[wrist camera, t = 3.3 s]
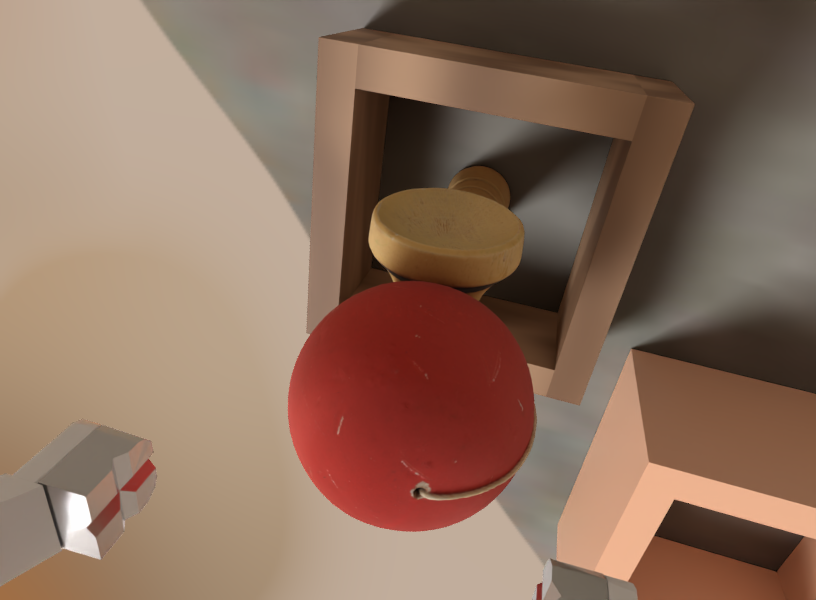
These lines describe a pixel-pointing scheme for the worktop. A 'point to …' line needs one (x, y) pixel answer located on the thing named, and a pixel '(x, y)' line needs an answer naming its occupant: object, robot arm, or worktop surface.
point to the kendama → (420, 366)
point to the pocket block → (508, 97)
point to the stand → (694, 481)
